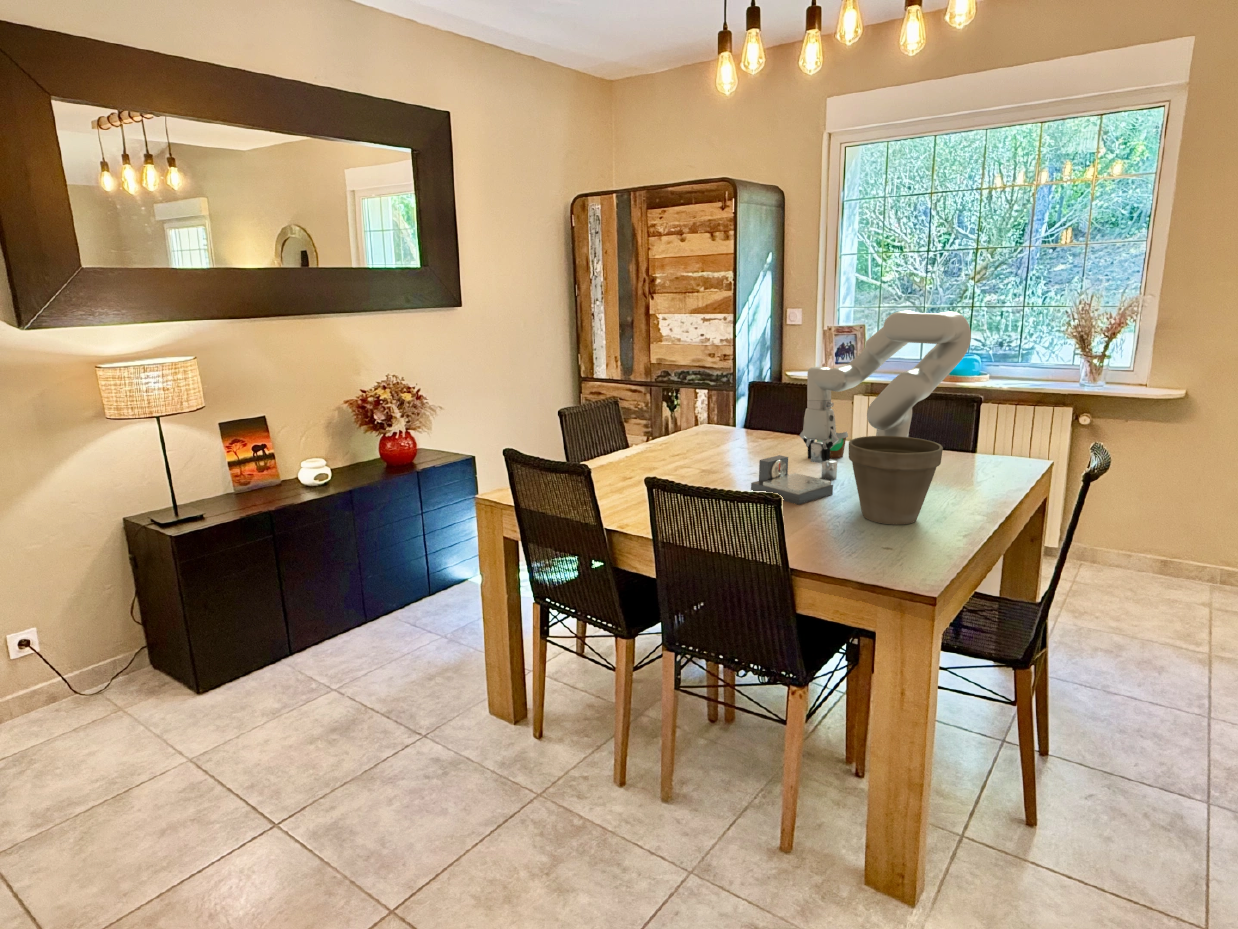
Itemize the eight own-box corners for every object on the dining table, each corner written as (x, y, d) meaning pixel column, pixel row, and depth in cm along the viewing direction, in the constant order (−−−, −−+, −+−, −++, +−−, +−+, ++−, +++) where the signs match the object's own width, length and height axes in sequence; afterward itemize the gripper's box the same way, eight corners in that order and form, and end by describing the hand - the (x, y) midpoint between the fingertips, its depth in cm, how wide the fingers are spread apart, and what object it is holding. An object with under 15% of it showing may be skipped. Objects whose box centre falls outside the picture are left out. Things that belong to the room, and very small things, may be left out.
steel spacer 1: (829, 460, 249) (829, 442, 247) (820, 463, 246) (820, 445, 244) (816, 458, 252) (817, 441, 251) (807, 461, 249) (807, 443, 248)
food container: (810, 457, 285) (811, 431, 283) (814, 454, 291) (815, 428, 288) (843, 460, 280) (845, 434, 277) (846, 457, 285) (848, 431, 283)
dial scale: (832, 494, 237) (834, 463, 235) (798, 504, 227) (800, 472, 225) (784, 482, 252) (785, 453, 249) (750, 491, 241) (751, 461, 239)
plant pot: (864, 499, 231) (868, 430, 226) (947, 514, 216) (954, 440, 211) (830, 520, 213) (834, 445, 207) (918, 537, 197) (925, 457, 192)
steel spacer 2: (839, 478, 256) (840, 461, 255) (830, 480, 253) (831, 463, 251) (827, 475, 260) (828, 458, 258) (818, 478, 257) (819, 461, 255)
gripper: (848, 405, 241) (847, 460, 245) (804, 401, 254) (804, 454, 258) (834, 408, 236) (833, 464, 240) (790, 404, 249) (790, 457, 253)
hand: (818, 458), depth 249 cm, fingers closed on steel spacer 1, 5 cm apart
